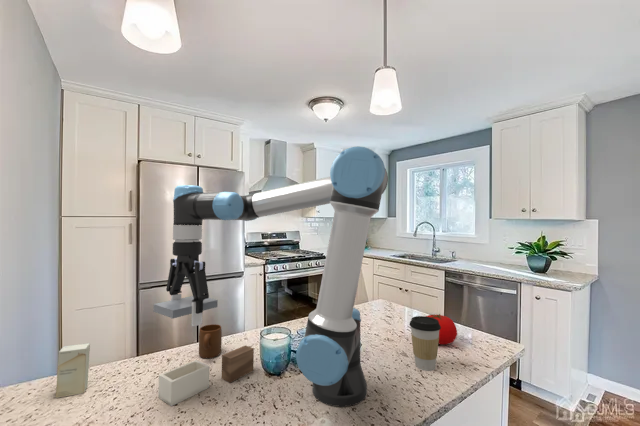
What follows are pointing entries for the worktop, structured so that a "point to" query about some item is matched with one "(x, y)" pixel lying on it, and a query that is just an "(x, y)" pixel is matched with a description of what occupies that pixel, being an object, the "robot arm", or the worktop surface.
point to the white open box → (183, 382)
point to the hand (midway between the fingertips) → (185, 321)
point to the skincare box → (72, 370)
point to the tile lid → (181, 306)
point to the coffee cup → (425, 341)
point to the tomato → (445, 329)
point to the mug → (210, 341)
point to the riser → (237, 363)
